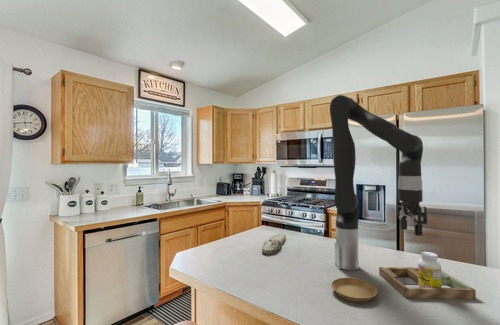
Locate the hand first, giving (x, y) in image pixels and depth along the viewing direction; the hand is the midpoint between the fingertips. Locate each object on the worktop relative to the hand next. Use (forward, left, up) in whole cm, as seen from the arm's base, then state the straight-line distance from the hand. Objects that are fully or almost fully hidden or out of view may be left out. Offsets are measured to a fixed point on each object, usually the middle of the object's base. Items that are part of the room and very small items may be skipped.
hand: (410, 232), depth 92 cm
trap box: (+4, 0, -19) cm, 20 cm away
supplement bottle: (+4, -3, -20) cm, 20 cm away
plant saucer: (-23, -6, -20) cm, 31 cm away
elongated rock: (-47, +48, -20) cm, 70 cm away
